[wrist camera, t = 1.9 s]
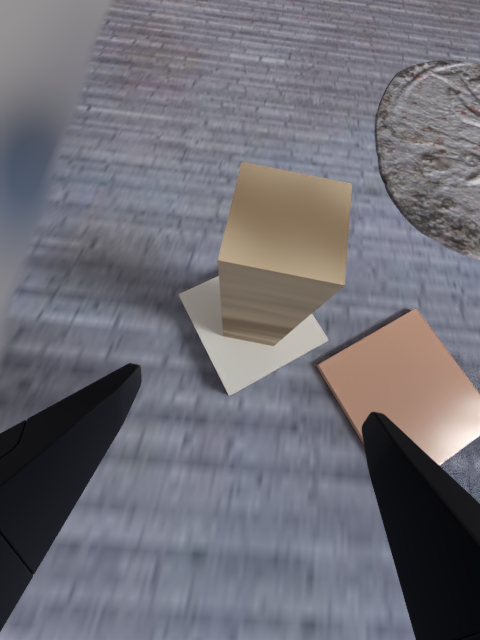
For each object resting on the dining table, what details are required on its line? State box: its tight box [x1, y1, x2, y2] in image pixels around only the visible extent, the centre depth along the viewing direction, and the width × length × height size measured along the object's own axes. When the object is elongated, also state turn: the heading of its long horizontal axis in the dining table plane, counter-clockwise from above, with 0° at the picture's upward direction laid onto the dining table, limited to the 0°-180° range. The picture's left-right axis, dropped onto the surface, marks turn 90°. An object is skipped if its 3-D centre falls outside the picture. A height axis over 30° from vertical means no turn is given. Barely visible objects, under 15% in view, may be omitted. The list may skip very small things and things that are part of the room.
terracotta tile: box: [316, 309, 480, 466], centre depth 22 cm, size 12×12×1 cm
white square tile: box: [178, 276, 328, 396], centre depth 22 cm, size 10×10×2 cm
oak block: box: [218, 162, 352, 346], centre depth 15 cm, size 4×4×13 cm
